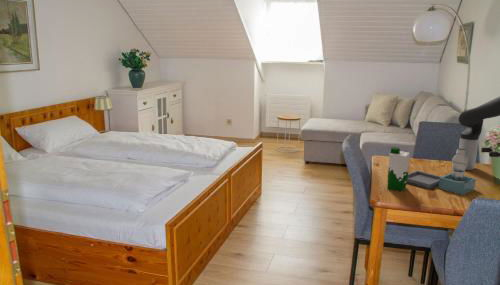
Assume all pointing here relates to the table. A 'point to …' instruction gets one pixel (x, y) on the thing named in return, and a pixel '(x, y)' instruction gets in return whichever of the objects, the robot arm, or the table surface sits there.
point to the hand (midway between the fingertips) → (485, 152)
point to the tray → (423, 179)
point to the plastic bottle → (459, 166)
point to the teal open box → (457, 184)
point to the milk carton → (398, 169)
